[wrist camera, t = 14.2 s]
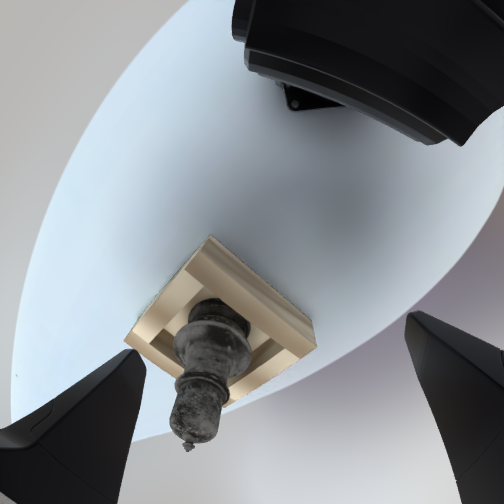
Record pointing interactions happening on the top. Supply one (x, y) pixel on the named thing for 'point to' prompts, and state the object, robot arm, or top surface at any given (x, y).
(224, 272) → the shaker caddy
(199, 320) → the weathered stone finial
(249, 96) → the top surface
